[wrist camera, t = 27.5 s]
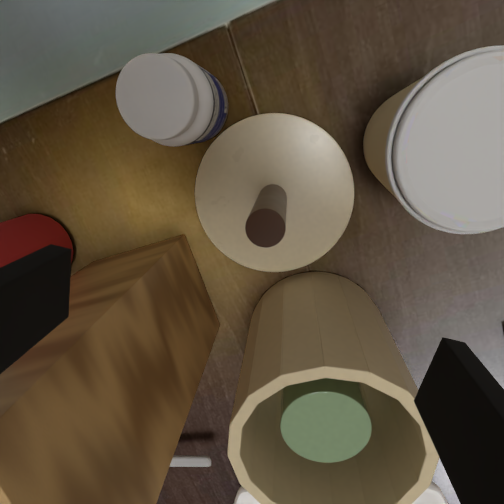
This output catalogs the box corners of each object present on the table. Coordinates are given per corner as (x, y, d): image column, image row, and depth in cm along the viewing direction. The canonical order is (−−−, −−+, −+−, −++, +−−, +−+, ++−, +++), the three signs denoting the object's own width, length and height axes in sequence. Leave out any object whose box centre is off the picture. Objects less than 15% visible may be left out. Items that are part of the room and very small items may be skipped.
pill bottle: (151, 120, 31) (91, 117, 21) (180, 54, 29) (127, 19, 19) (210, 155, 31) (176, 166, 22) (242, 92, 29) (220, 75, 20)
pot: (234, 289, 35) (199, 392, 21) (364, 256, 33) (417, 347, 19) (272, 393, 39) (262, 537, 25) (392, 369, 36) (454, 514, 23)
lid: (175, 144, 31) (116, 151, 21) (330, 89, 29) (353, 65, 18) (226, 283, 35) (199, 349, 24) (367, 245, 32) (405, 301, 22)
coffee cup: (366, 211, 31) (409, 257, 20) (339, 101, 29) (372, 84, 17) (480, 178, 30) (597, 209, 18) (463, 58, 27) (587, 8, 16)
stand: (92, 261, 36) (-250, 490, 13) (184, 234, 34) (-29, 446, 11) (133, 346, 38) (-92, 656, 16) (220, 324, 36) (107, 642, 14)
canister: (275, 313, 35) (268, 401, 24) (336, 298, 34) (360, 383, 22) (292, 364, 37) (294, 469, 25) (351, 351, 35) (380, 455, 24)
